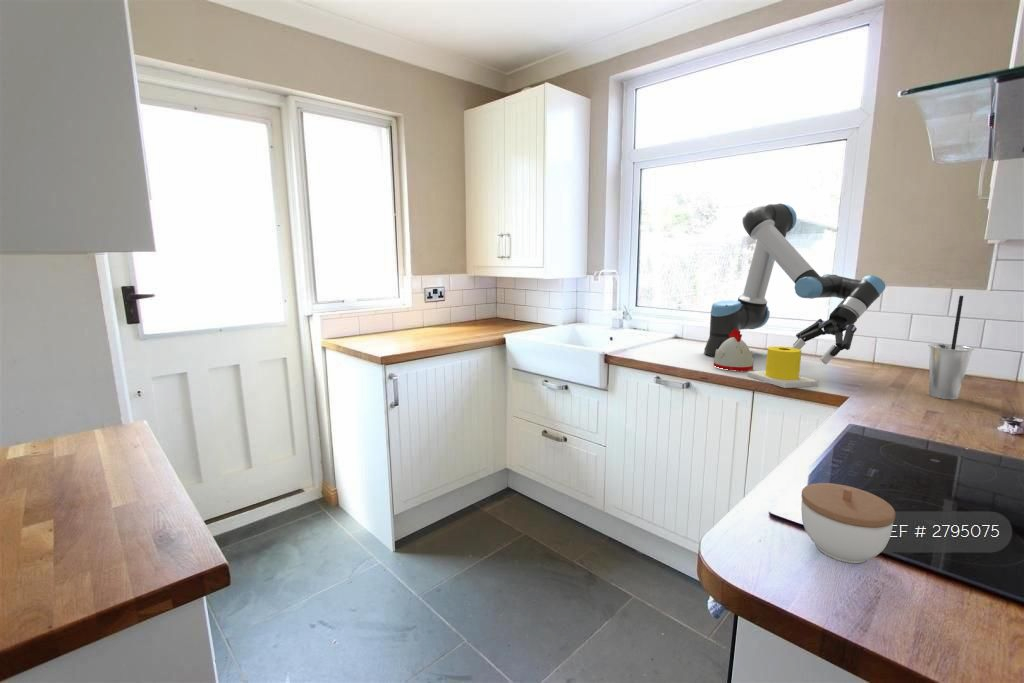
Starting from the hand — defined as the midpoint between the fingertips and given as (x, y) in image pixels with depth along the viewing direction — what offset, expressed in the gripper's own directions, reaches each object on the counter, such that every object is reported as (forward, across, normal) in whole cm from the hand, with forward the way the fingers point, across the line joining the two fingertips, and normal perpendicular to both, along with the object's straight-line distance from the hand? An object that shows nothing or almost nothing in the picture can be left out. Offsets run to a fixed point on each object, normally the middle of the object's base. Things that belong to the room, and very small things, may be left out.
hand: (806, 357), depth 162 cm
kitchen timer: (+14, +22, +3) cm, 26 cm away
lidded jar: (+58, -84, +47) cm, 112 cm away
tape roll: (+11, 0, +2) cm, 11 cm away
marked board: (+12, 0, +1) cm, 12 cm away
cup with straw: (-11, -28, -22) cm, 37 cm away
